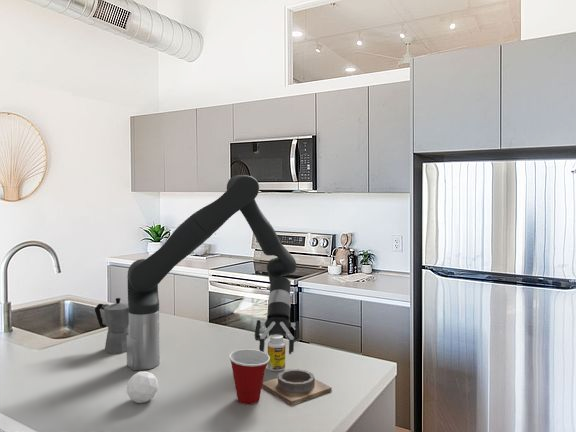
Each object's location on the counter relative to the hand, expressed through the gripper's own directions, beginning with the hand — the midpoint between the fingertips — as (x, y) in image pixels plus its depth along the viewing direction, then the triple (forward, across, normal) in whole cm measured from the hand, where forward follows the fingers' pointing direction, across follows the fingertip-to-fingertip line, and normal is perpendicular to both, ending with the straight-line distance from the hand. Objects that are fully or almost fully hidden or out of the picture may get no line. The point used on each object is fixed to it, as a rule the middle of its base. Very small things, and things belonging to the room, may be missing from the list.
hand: (276, 352), depth 139 cm
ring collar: (+13, +6, -5) cm, 16 cm away
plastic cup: (+18, -6, -10) cm, 22 cm away
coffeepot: (-6, -57, +14) cm, 59 cm away
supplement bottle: (+3, 0, +5) cm, 6 cm away
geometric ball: (+20, -33, -12) cm, 41 cm away
